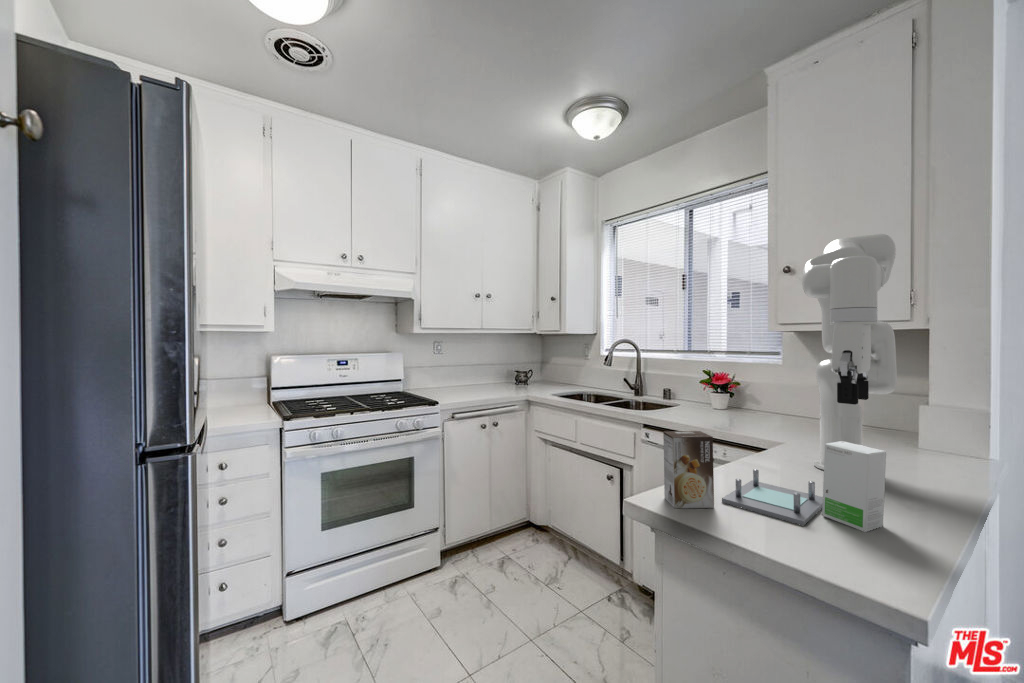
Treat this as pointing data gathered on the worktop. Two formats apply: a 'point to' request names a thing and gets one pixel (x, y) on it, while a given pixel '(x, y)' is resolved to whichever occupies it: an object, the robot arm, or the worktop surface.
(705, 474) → the coffee box
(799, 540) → the worktop surface
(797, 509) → the guide pins
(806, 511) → the grey base plate
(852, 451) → the skincare box
